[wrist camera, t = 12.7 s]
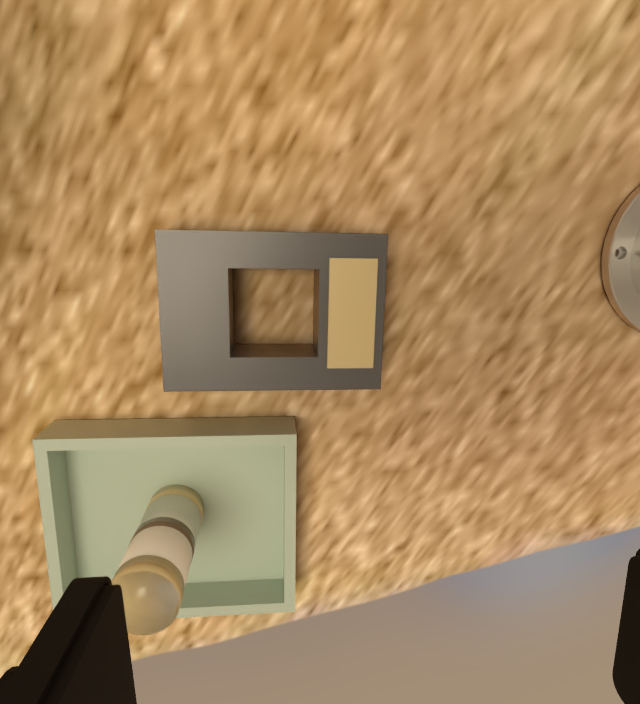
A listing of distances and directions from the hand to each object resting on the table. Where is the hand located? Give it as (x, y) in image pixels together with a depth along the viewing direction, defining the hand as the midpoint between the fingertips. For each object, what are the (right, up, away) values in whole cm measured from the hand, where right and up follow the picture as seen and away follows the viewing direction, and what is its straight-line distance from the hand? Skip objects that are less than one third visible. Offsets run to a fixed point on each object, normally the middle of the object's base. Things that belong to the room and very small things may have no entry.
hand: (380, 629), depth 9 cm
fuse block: (-4, +8, +26) cm, 28 cm away
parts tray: (-12, -7, +29) cm, 32 cm away
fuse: (-12, -7, +28) cm, 31 cm away
